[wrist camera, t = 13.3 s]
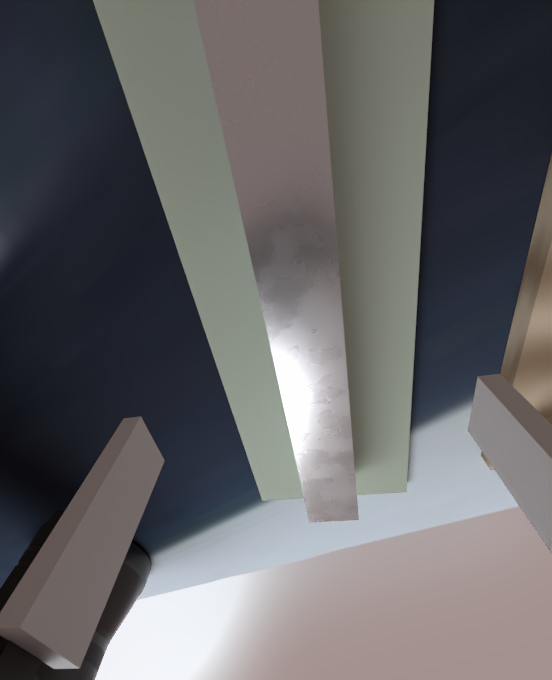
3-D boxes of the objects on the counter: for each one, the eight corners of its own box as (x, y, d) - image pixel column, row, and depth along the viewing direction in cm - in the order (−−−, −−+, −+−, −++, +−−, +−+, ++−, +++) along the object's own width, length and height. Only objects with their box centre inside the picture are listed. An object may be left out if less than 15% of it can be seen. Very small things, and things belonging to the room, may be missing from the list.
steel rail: (350, 475, 28) (358, 519, 25) (307, 478, 29) (309, 522, 25) (298, -101, 11) (301, -212, 8) (196, -68, 12) (157, -159, 8)
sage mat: (403, 484, 30) (406, 492, 29) (263, 493, 32) (262, 500, 31) (440, -278, 10) (451, -309, 9) (56, -134, 12) (41, -151, 11)
